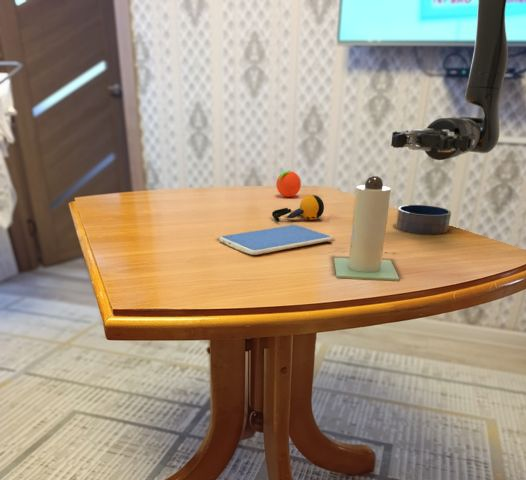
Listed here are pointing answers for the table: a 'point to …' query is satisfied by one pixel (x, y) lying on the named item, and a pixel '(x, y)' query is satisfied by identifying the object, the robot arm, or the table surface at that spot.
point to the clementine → (288, 184)
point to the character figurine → (303, 209)
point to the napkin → (383, 274)
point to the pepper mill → (369, 225)
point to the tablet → (273, 239)
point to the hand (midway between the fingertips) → (418, 142)
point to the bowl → (423, 219)
